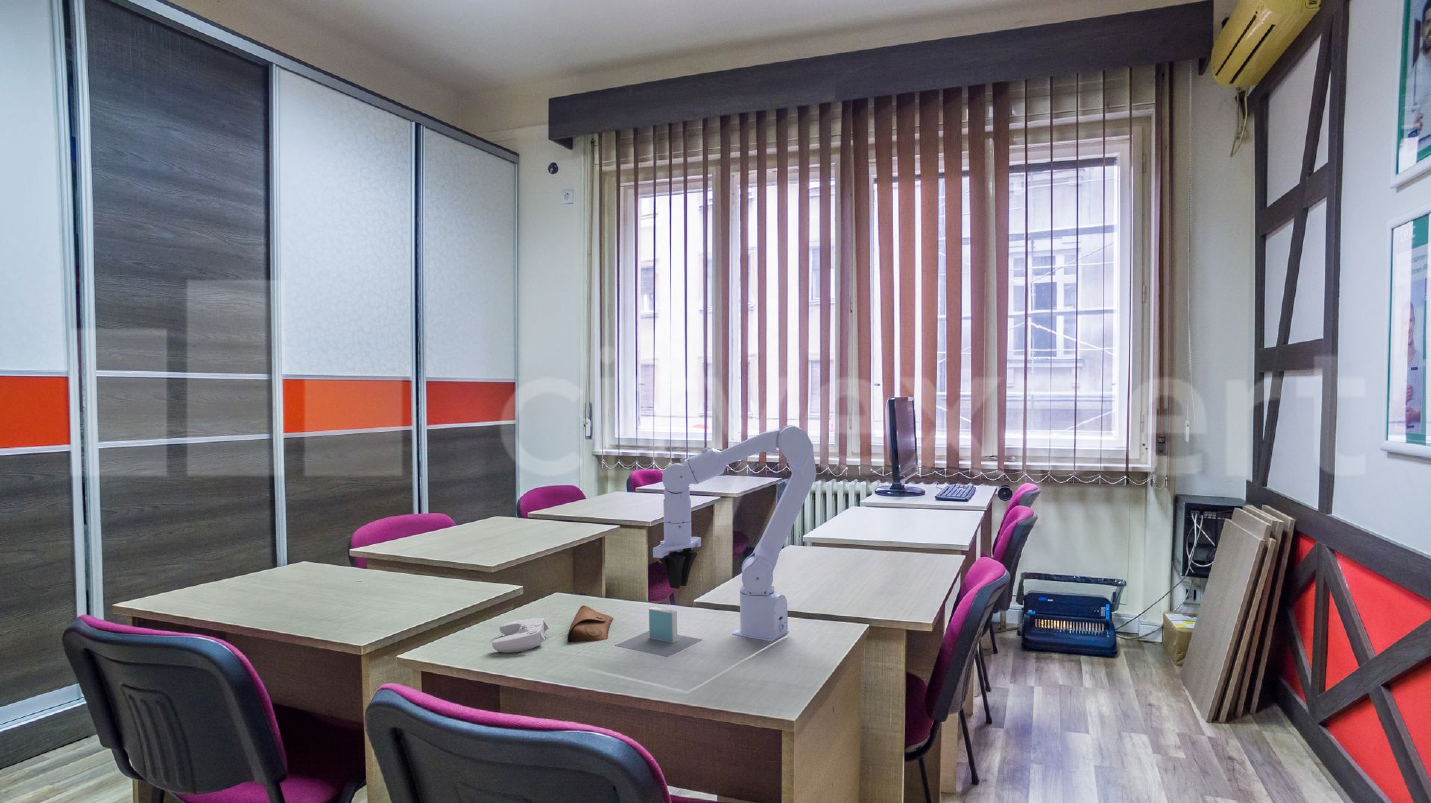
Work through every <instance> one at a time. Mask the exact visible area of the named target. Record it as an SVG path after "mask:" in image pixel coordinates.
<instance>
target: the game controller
mask: <svg viewBox="0 0 1431 803" xmlns="http://www.w3.org/2000/svg"><path fill="white" fill-rule="evenodd" d="M549 629H550V626H549V624H548V623H547V620H545V618H543V617H542V618H541V617H539V618H538V617H537V618H526V619H519V620H514V621H513V620H512V621H509V622H506V623H503V624H501V625H500V626H499V632H500V633H501V634H503V635H504V636H501V637H499V638H496V639H492V640H491V645H492V648H493V649H494V650H495V651H497V652H499V653H504V654H505V653H506V654H513V653H521V652H522V651H527V650H532V649H534V648H537V647H538V646H540V645H542V643H543V642H545V640H546V638H545V635H544V634H545V633H546V631H547V630H549Z"/></svg>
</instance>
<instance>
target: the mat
mask: <svg viewBox="0 0 1431 803" xmlns="http://www.w3.org/2000/svg"><path fill="white" fill-rule="evenodd" d="M701 641H704V640H703V638H697V637H692V636H687V635H681V634H677V641H676V642H674V643H672V642H667V641H662V640H657V639H652V638H649V630H648V631H646V632H643V633H641V634H639V635H636V636H633V637H631V638H629V639H627V640H624V641H622V642H619V643H617V644H615V645H614V646H615V647H620V648H623V649H629V650H633V651H638V652H643V653H648V654H653V655H658V656H662V657H667V658H668V657H671V656H672V655H674V654H676V653H679V652H681V651H683V650H685V649H687V648H689V647H691V646H693V645H695V644H697V643H699V642H701Z"/></svg>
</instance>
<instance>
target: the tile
mask: <svg viewBox="0 0 1431 803" xmlns="http://www.w3.org/2000/svg"><path fill="white" fill-rule="evenodd" d="M648 631H649V638H652V639H657V640H662V641H667V642H672V643H674V642H676V641H677V635H678V611H677V610H672V609H667V608H663V607H662V608H660V607H655V606H651V607H649V608H648Z"/></svg>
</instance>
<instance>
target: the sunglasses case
mask: <svg viewBox="0 0 1431 803" xmlns="http://www.w3.org/2000/svg"><path fill="white" fill-rule="evenodd" d="M613 620H614V617H612V616H610V615H608V614H605V613H601V612H599V611H596V610H595V609H593V608H591V607H590V606H587V605H584V604H583V605H582V606H580V608H579V609H578V611H577V612H576V614H575V616H574V618H573V620H572V622H571V625H570V627H569V630H568V634H567V642H568V643H581V642H582V643H583V642H586V643H587V642H599V641H600V642H601V641H607V640H608V639H609V631H610V627H611V624H612V622H613Z"/></svg>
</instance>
